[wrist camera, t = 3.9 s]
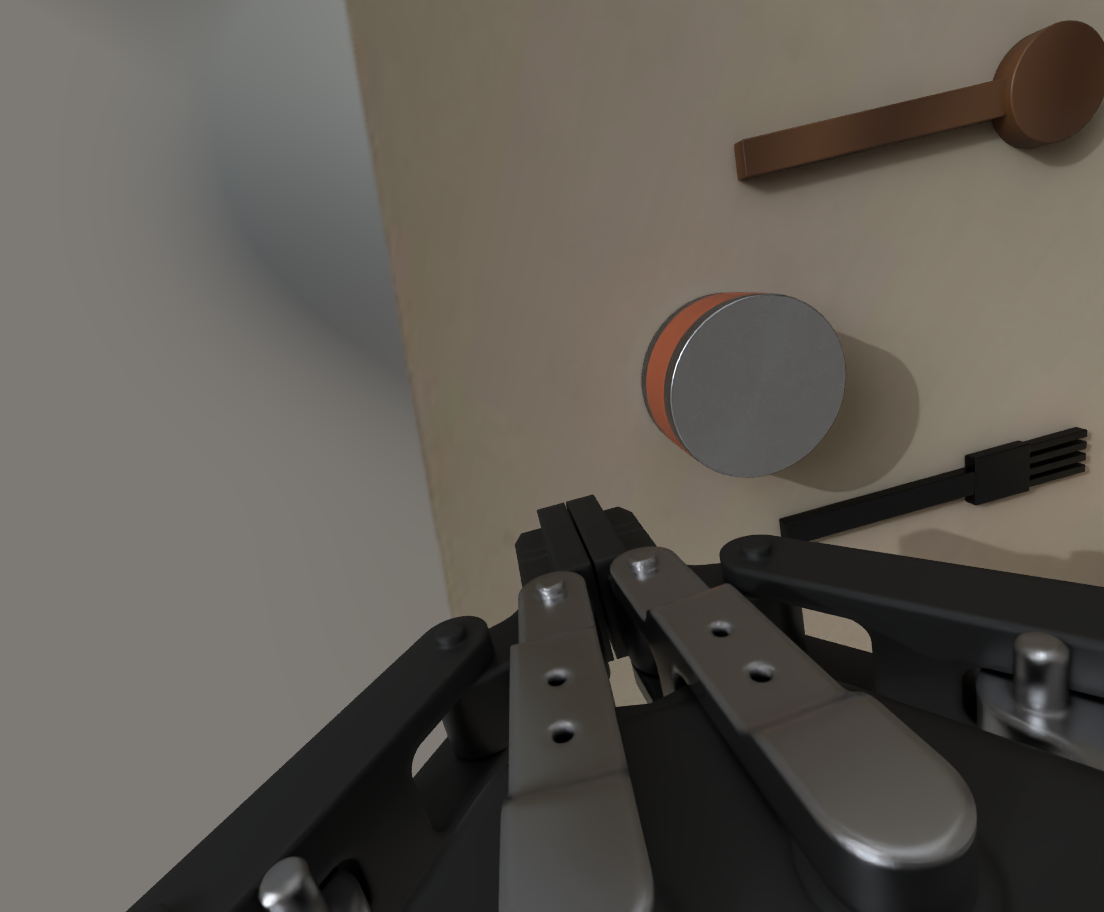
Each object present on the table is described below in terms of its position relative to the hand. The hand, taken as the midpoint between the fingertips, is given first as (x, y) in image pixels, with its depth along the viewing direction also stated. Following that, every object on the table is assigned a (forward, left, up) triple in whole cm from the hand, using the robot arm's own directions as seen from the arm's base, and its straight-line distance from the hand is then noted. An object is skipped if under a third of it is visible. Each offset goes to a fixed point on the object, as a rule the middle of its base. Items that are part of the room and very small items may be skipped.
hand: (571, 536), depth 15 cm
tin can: (0, +9, -12) cm, 15 cm away
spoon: (-9, +19, -12) cm, 24 cm away
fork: (+8, +20, -12) cm, 25 cm away
